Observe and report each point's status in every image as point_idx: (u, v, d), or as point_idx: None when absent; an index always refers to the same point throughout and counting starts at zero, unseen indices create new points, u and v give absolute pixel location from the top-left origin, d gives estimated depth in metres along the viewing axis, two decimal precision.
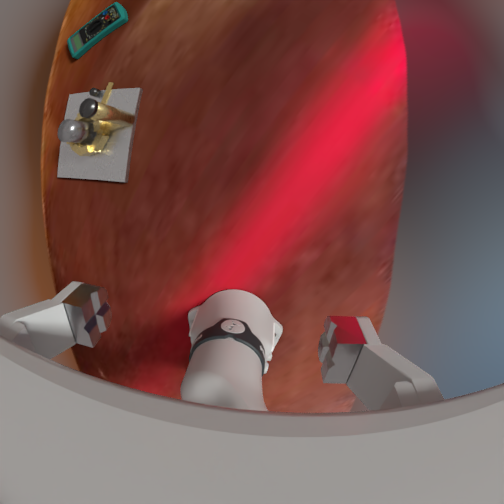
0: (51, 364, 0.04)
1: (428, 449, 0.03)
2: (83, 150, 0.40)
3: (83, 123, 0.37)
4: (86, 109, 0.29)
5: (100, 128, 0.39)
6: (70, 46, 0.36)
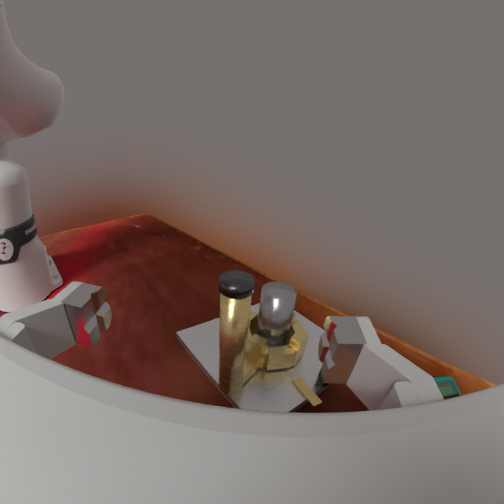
0: (51, 364, 0.04)
1: (428, 449, 0.03)
2: (250, 314, 0.35)
3: (275, 324, 0.31)
4: (234, 277, 0.23)
5: (250, 341, 0.30)
6: (436, 379, 0.27)
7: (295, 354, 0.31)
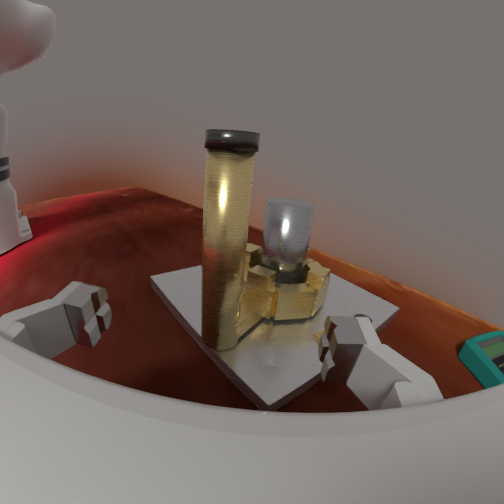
0: (51, 364, 0.04)
1: (428, 449, 0.03)
2: (250, 247, 0.26)
3: (287, 248, 0.22)
4: None
5: (250, 274, 0.21)
6: (488, 334, 0.18)
7: (315, 296, 0.22)
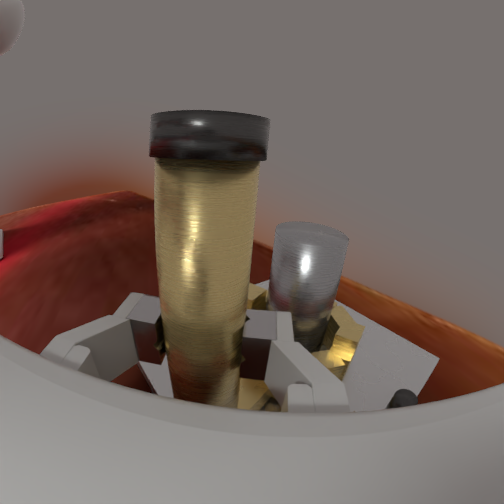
0: (51, 364, 0.04)
1: (428, 449, 0.03)
2: (251, 290, 0.18)
3: (306, 305, 0.14)
4: None
5: None
6: None
7: (344, 367, 0.14)
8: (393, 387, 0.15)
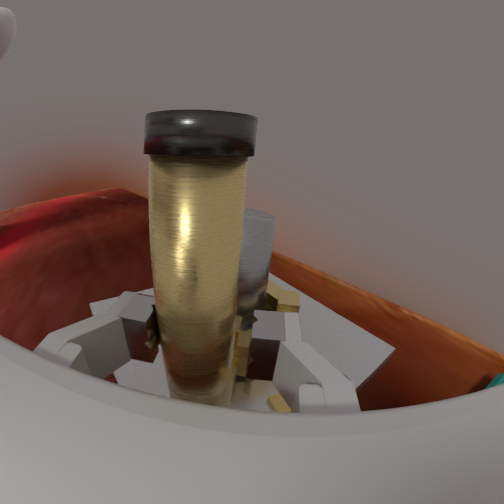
0: (51, 364, 0.04)
1: (428, 449, 0.03)
2: None
3: None
4: None
5: None
6: None
7: None
8: None
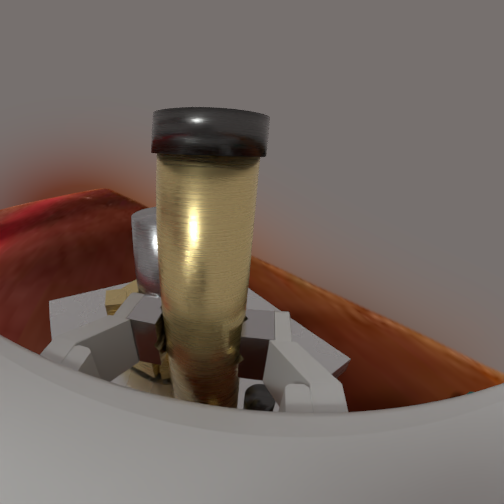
0: (51, 364, 0.04)
1: (428, 449, 0.03)
2: (115, 296, 0.16)
3: (155, 282, 0.15)
4: None
5: None
6: None
7: None
8: None
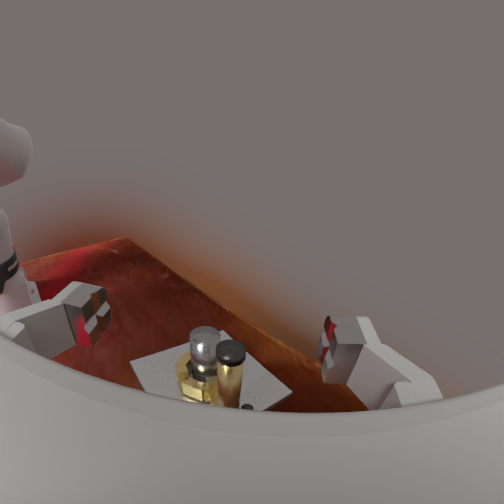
0: (51, 364, 0.04)
1: (428, 449, 0.03)
2: (180, 366, 0.34)
3: (202, 364, 0.33)
4: (228, 349, 0.25)
5: (210, 385, 0.32)
6: None
7: None
8: (253, 402, 0.34)
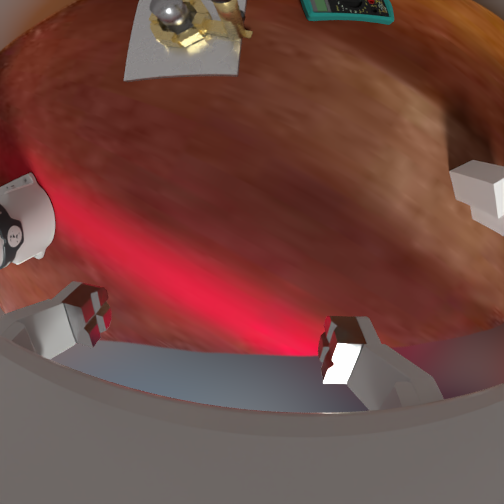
0: (51, 364, 0.04)
1: (428, 449, 0.03)
2: (166, 36, 0.28)
3: (181, 18, 0.25)
4: None
5: (201, 23, 0.27)
6: None
7: None
8: None
